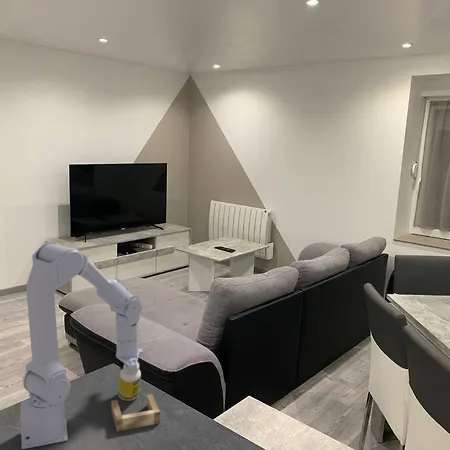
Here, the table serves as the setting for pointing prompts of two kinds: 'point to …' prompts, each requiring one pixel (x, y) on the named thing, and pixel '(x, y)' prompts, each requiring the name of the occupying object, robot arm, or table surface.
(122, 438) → the table surface
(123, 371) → the supplement bottle
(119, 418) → the dock
